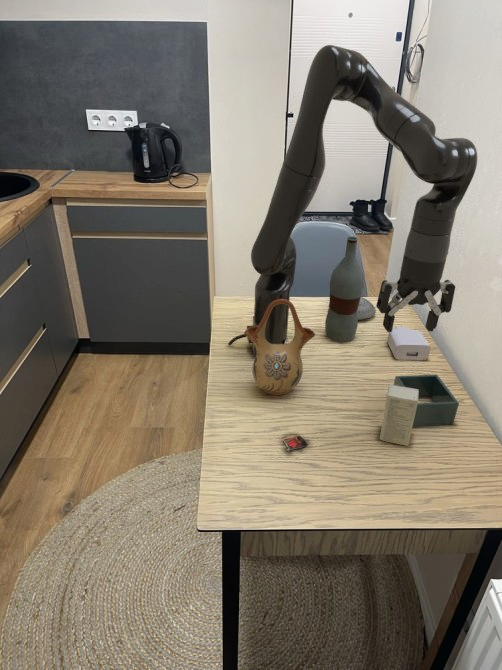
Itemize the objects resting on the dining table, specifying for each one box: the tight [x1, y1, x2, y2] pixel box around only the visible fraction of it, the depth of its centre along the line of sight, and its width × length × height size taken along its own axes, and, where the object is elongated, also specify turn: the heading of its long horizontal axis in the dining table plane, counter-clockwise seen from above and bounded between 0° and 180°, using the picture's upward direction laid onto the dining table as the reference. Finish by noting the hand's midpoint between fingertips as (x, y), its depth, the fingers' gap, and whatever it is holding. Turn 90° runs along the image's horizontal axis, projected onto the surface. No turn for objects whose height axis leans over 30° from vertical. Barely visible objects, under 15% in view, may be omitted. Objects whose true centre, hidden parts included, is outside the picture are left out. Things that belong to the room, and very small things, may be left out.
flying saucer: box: [357, 296, 377, 321], centre depth 159 cm, size 15×15×6 cm
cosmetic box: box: [379, 383, 419, 447], centre depth 105 cm, size 6×4×12 cm
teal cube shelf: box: [393, 373, 460, 427], centre depth 115 cm, size 10×11×6 cm
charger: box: [386, 325, 431, 361], centre depth 141 cm, size 5×9×15 cm
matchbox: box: [282, 433, 309, 453], centre depth 105 cm, size 5×5×1 cm
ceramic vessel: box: [243, 299, 316, 396], centre depth 116 cm, size 16×9×25 cm, turn 90°
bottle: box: [324, 236, 365, 344], centre depth 139 cm, size 9×9×30 cm
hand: (408, 329), depth 100 cm, fingers open, 8 cm apart
